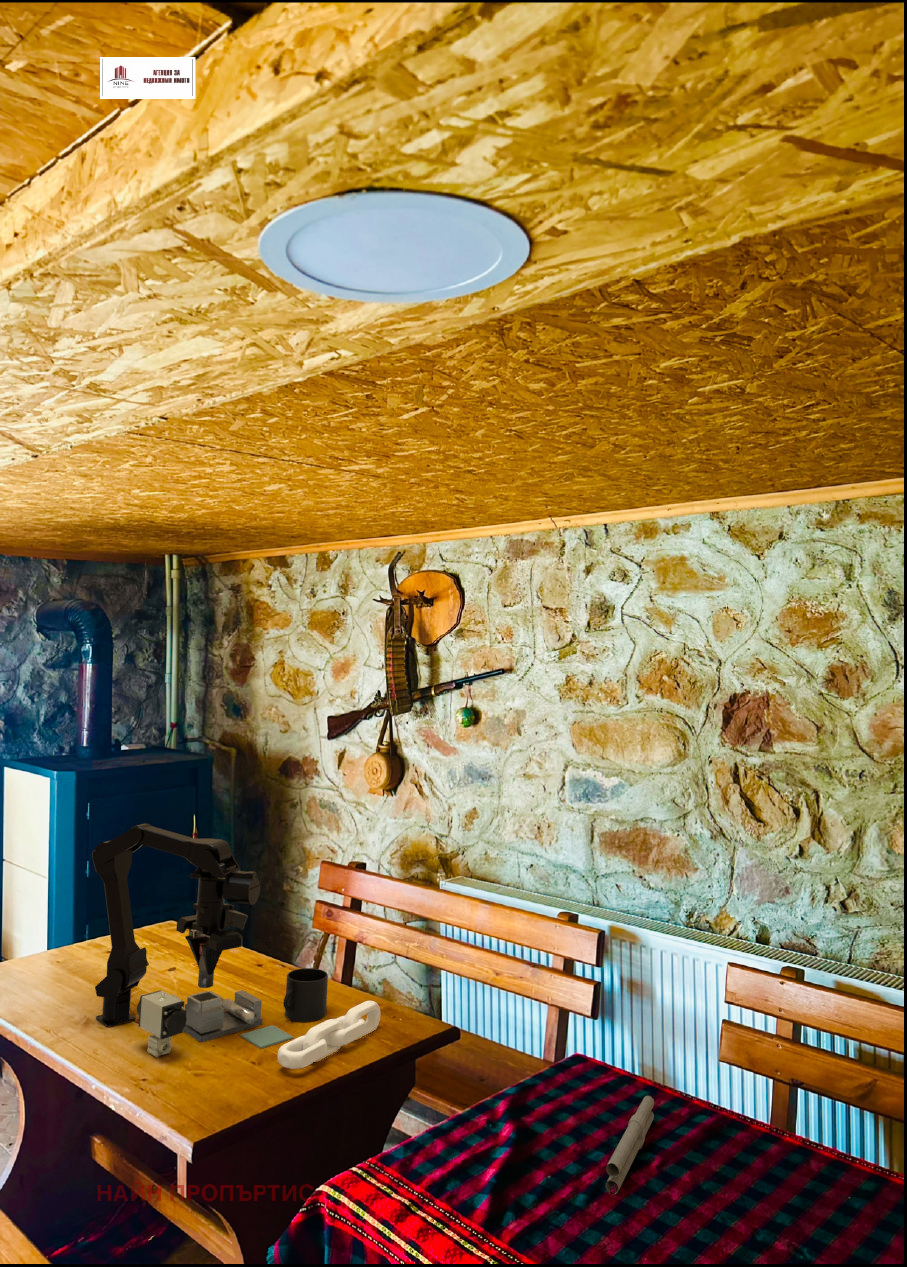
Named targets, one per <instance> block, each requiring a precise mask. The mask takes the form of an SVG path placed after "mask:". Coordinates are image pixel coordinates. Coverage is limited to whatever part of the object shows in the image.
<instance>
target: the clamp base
mask: <svg viewBox="0 0 907 1267" xmlns="http://www.w3.org/2000/svg"><path fill="white" fill-rule="evenodd" d="M262 1003H263V1002H262V1000H261V999H260V998H259V997H256V996H254V995H253V994H251V993H249V992H247V991H245V990H243V989H242V990H238V991H235V992H234V1001H233V1000H232V999H230V998H224V1000H222V1007H221V1008H223V1009H224V1012H223V1028H220V1029H216V1030H213V1031H209V1032H206V1033H202V1034H201V1033H199V1032H198V1031H196V1030H195V1029H193V1028H192V1027H190V1026H189V1025H187V1024H186V1026H185V1027H184V1028H183V1032H184V1033H185V1034H187V1035H189V1036H190V1037H191V1038H193V1039H195V1040H196V1041H197V1042H199V1043H204V1042H208V1041H211V1040H215V1039H217V1038H221V1037H225V1036H229V1035H231V1034H235V1033H238V1032H242V1031H245V1030H248V1029H252V1028H256V1027H259V1026H263V1018H262V1017H261V1016H262Z"/></svg>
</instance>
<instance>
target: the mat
mask: <svg viewBox="0 0 907 1267" xmlns="http://www.w3.org/2000/svg"><path fill="white" fill-rule="evenodd" d="M240 1038H242V1039H244V1040H245V1041H247V1042H249V1043H250V1044H252V1045H254V1046H256V1047H257V1048H259V1049H260V1050H261V1049H264V1048H267V1047H271V1046H274V1045H277V1044H281V1043H284V1042H286V1041H290V1040H294V1036H293V1035H291V1034H290V1033H287V1032H285V1031H284V1030H282V1029H280V1028H278V1027H277V1026H275V1025H273V1024H272V1025H271V1024H270V1025H268V1026H265V1027H262V1028H258V1029H255V1030H251V1031H248V1032H245V1033H241V1034H240Z"/></svg>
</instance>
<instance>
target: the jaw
mask: <svg viewBox="0 0 907 1267" xmlns="http://www.w3.org/2000/svg"><path fill="white" fill-rule="evenodd" d="M186 1000H187V1001H186V1003H184V1010H186V1011H187V1012H186V1017H187V1021H186V1024H187V1025H189V1026H190V1027H192V1028H193V1029H195V1030H196V1031H198V1032H199V1033H201V1034H202V1033H206V1032H209V1031H213V1030H216V1029H220V1028H223V1012H225V1010H224V1009H223V1008H222V1002H223V997H222V996H221V995H220V994H217V993H216V992H214V991H213V990H208V991H207V990H206V991H202V992H197V993H194V994H190V995H189V996H187V999H186Z"/></svg>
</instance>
